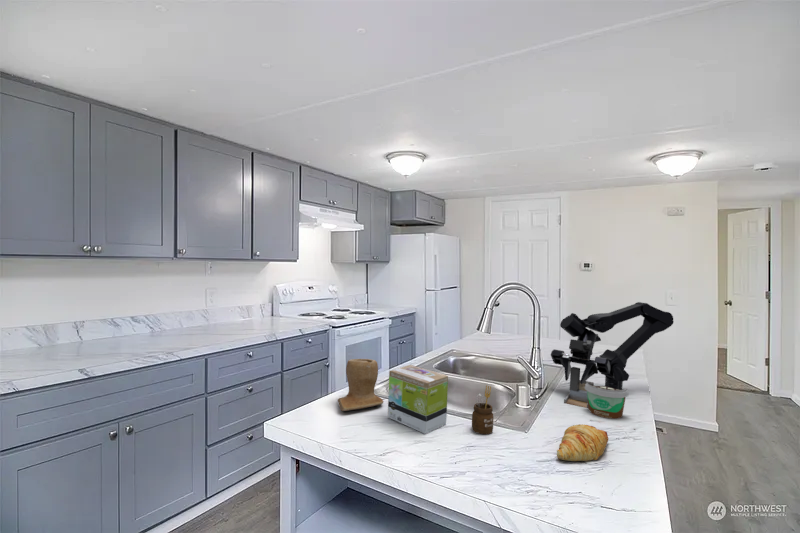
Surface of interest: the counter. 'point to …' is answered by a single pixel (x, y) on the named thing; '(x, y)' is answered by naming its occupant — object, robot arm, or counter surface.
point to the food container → (606, 401)
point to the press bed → (576, 402)
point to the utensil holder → (483, 416)
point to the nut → (582, 387)
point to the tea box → (418, 398)
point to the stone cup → (360, 385)
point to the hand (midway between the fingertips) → (573, 381)
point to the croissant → (582, 443)
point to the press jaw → (576, 386)
